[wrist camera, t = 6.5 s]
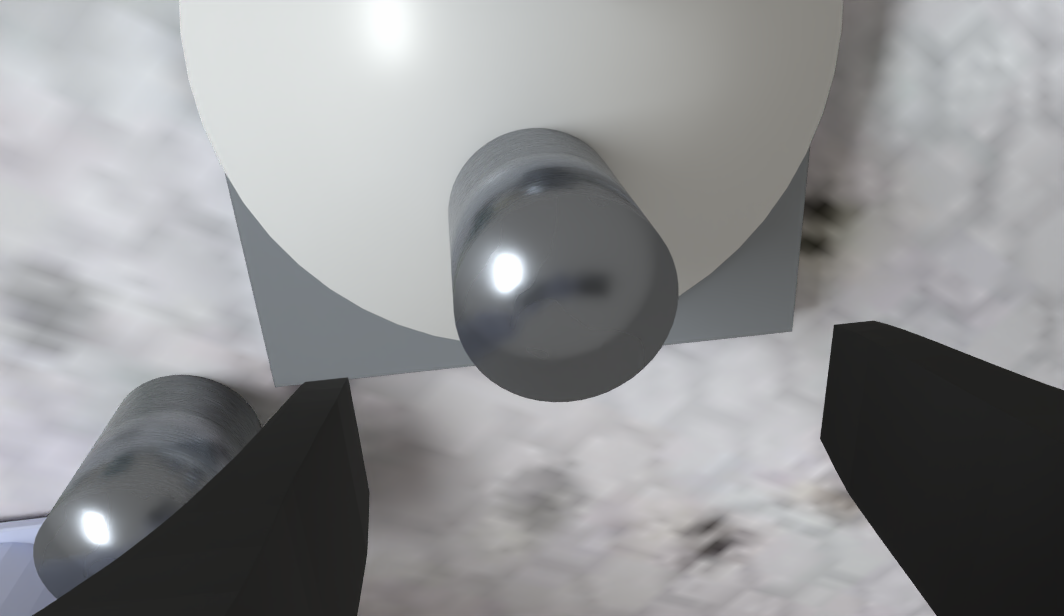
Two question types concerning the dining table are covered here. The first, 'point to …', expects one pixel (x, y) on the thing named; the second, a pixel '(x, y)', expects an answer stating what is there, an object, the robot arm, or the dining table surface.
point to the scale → (482, 115)
